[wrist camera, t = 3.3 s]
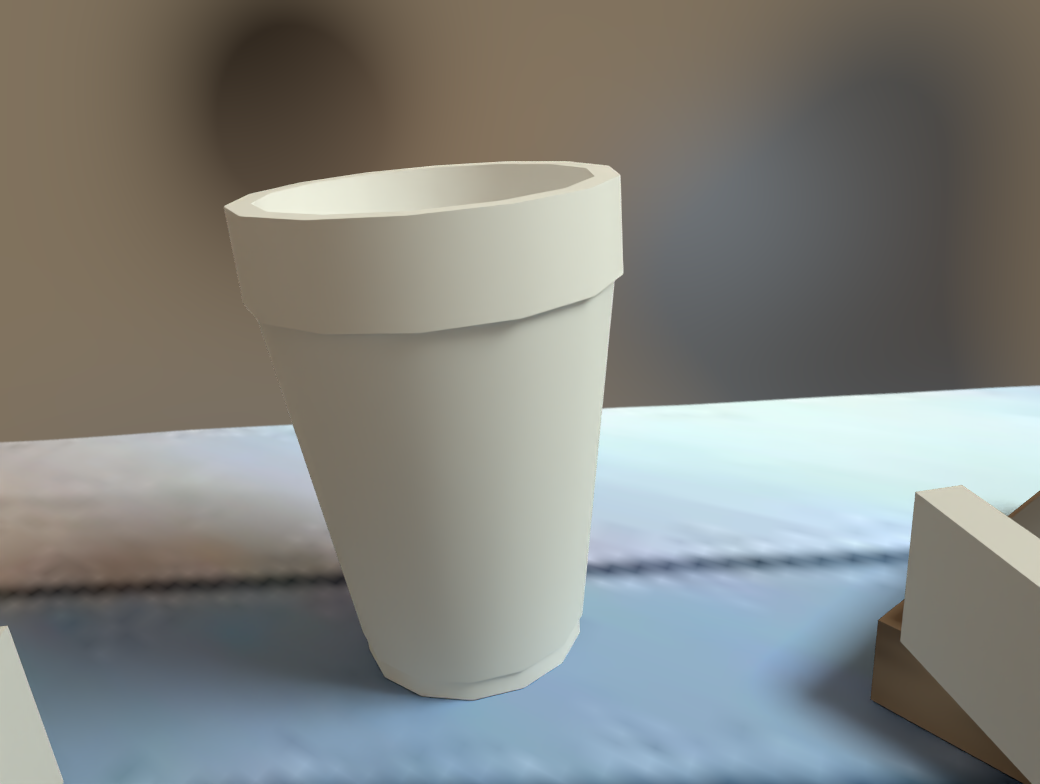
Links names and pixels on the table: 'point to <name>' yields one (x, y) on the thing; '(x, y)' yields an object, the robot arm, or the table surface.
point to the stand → (919, 693)
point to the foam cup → (446, 397)
